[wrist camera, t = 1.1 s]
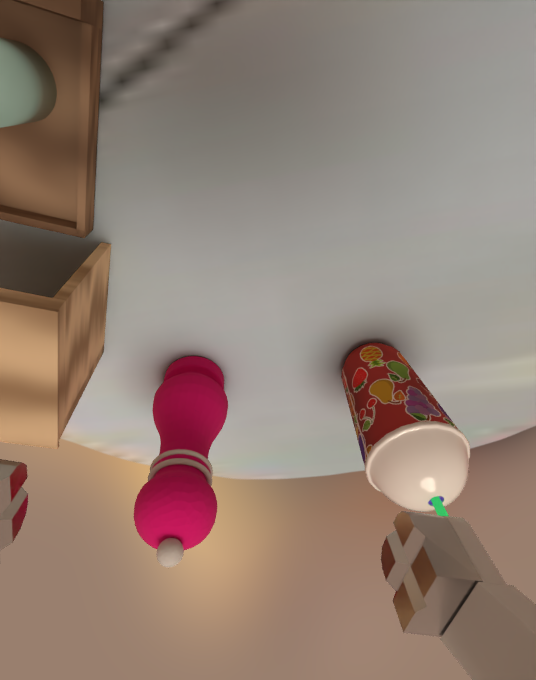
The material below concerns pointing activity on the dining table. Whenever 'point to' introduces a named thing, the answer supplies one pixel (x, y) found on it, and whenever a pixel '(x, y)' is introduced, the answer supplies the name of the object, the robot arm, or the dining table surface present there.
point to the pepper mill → (182, 459)
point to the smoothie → (403, 431)
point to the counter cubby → (50, 352)
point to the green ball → (24, 85)
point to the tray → (55, 118)
